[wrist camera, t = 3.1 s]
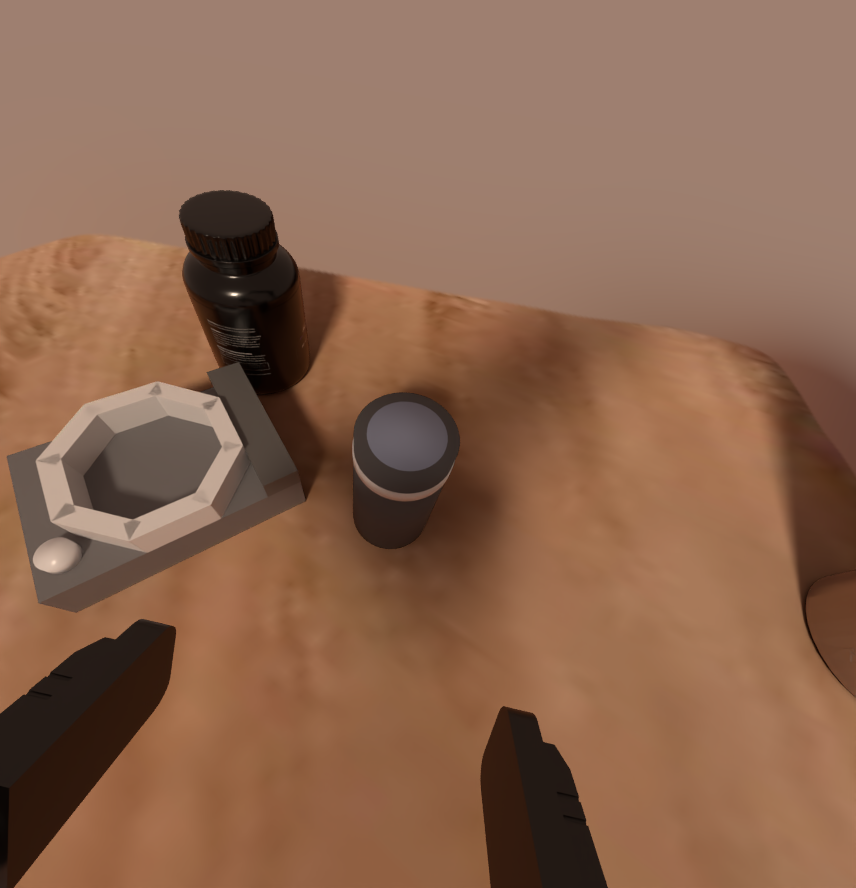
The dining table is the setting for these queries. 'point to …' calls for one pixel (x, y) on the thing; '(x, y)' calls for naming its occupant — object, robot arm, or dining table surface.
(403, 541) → the lens
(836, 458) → the dining table surface
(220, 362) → the supplement bottle
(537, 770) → the robot arm
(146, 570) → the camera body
